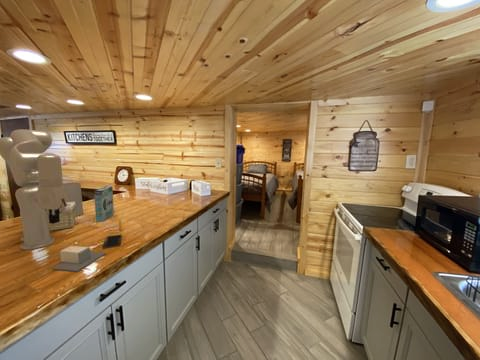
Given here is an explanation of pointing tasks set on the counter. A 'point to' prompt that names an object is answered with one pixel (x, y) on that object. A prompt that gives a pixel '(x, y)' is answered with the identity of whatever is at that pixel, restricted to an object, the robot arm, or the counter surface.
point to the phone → (112, 241)
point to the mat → (78, 266)
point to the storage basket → (64, 218)
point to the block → (75, 254)
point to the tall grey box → (74, 196)
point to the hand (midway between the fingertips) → (54, 222)
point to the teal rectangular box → (103, 203)
